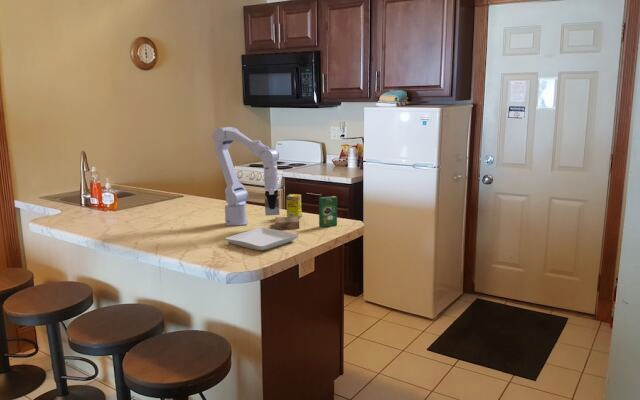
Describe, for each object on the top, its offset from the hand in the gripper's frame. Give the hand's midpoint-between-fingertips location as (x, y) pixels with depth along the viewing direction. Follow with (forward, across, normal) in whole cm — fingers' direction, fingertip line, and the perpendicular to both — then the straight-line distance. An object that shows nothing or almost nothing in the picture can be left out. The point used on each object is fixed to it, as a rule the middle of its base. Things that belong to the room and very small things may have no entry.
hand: (272, 208), depth 223 cm
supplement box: (+9, +17, -10) cm, 22 cm away
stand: (+9, +2, -6) cm, 11 cm away
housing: (+3, 0, 0) cm, 3 cm away
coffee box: (+9, -1, -24) cm, 26 cm away
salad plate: (+10, -23, +4) cm, 25 cm away
